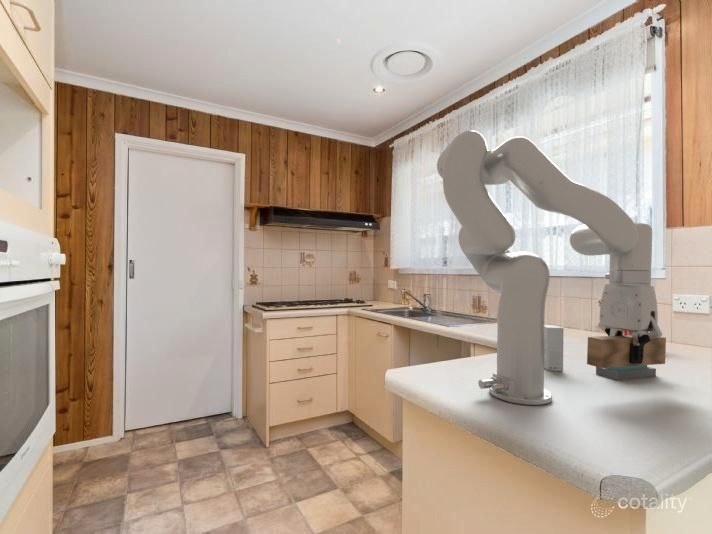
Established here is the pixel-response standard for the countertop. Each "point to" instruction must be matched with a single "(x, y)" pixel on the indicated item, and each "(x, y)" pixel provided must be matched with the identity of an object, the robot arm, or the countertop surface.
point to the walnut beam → (622, 351)
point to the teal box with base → (626, 372)
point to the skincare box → (553, 348)
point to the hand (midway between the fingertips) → (626, 360)
